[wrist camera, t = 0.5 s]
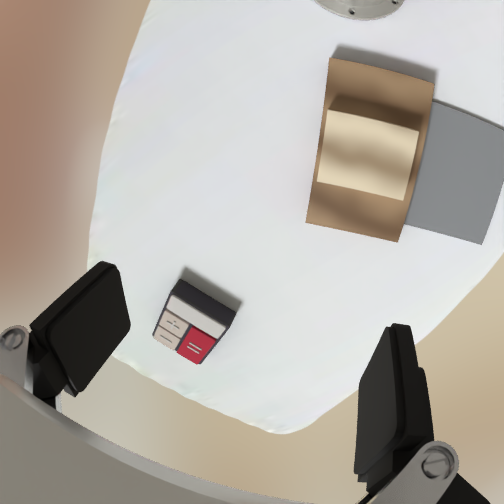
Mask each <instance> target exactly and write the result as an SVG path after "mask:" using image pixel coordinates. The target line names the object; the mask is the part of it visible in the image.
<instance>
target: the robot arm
mask: <svg viewBox="0 0 504 504" xmlns="http://www.w3.org/2000/svg"><path fill="white" fill-rule="evenodd" d="M314 1H315V2H316V3H317V4H319V5H320V6H321V7H323V8H324V9H326V10H328V11H330V12H332V13H333V14H336V15H339V16H341V17H345V18H349V19H353V20H375V19H380V18H384V17H386V16H388V15H390V14H392V13H393V12H395V11H396V10H397V9H398V8H399V7H400V6H401V5H402V4H403V2H404V0H314ZM392 2H395V3H396V4H393V3H392ZM350 12H353V13H354V14H353V15H352V14H350ZM29 326H30V328H31V330H32V331H31V332H30V333H29V332H28V330H27V329H26V328H25V327H24V326H20V325H16V326H12V327H9V328H7V329H6V330H4V331H3V332H2V333H1V335H0V504H312V503H305V502H298V501H292V500H287V499H281V498H276V497H270V496H266V495H260V494H256V493H251V492H247V491H243V490H239V489H235V488H232V487H228V486H224V485H221V484H217V483H214V482H210V481H207V480H204V479H201V478H197V477H195V476H192V475H189V474H186V473H183V472H180V471H178V470H175V469H172V468H170V467H167V466H164V465H162V464H159V463H157V462H155V461H152V460H150V459H147V458H145V457H143V456H141V455H138V454H136V453H133V452H132V451H130V450H127V449H125V448H123V447H121V446H119V445H117V444H115V443H113V442H111V441H109V440H107V439H105V438H103V437H101V436H99V435H98V434H96V433H94V432H92V431H90V430H88V429H87V428H85V427H83V426H81V425H80V424H78V423H76V422H74V421H73V420H71V419H70V418H68V417H66V416H65V415H63V414H62V409H61V391H62V390H63V389H64V391H65V392H67V393H69V394H70V395H72V396H73V397H76V396H77V394H78V393H79V392H82V391H83V390H84V389H85V388H86V387H87V385H88V384H89V383H90V381H91V380H92V379H93V377H94V376H95V375H96V373H97V372H98V371H99V369H100V368H101V367H102V365H103V364H104V363H105V362H106V360H107V359H108V358H109V356H110V355H111V354H112V352H113V351H114V350H115V349H116V347H117V346H118V345H119V343H120V342H121V341H122V340H123V338H124V337H125V336H126V335H127V333H128V332H129V330H130V326H131V323H130V319H129V314H128V310H127V306H126V301H125V296H124V292H123V287H122V282H121V276H120V272H119V270H118V269H117V267H116V265H114V264H111V263H108V262H104V261H100V262H99V263H97V264H96V265H95V266H94V267H93V268H91V269H90V270H89V271H88V272H87V273H86V274H84V275H83V276H82V277H81V278H80V279H79V280H78V281H76V282H75V283H74V284H73V285H72V286H71V287H70V288H69V289H67V290H66V291H65V292H64V293H63V294H62V295H61V296H60V297H59V298H57V299H56V300H55V301H54V302H53V303H52V304H51V305H50V306H49V307H48V308H47V309H46V310H45V311H43V312H42V313H41V314H40V315H39V316H38V317H37V318H36V319H35V320H34V321H33V322H32V323H31V324H30V325H29ZM358 397H359V398H358V421H357V437H356V452H355V462H354V473H355V474H358V482H367V488H366V491H367V492H368V493H367V494H366V495H365V496H363V497H362V498H361V500H359V501H358V502H357V503H356V504H490V502H489V501H488V500H487V499H486V498H485V497H483V496H482V495H481V494H480V493H479V492H478V491H477V490H476V489H475V488H474V487H472V486H471V485H470V484H469V483H468V482H467V481H466V480H464V478H462V477H461V476H460V475H459V474H458V473H457V471H458V467H459V460H458V455H457V453H456V451H455V450H454V449H453V448H452V447H451V446H450V445H448V444H447V443H445V442H441V441H434V433H433V423H432V416H431V408H430V400H429V394H428V388H427V382H426V376H425V372H424V370H423V368H421V367H418V362H417V356H416V351H415V345H414V341H413V336H412V331H411V327H410V326H409V325H403V324H396V323H393V324H392V325H391V327H386V328H385V330H384V332H383V334H382V336H381V338H380V341H379V343H378V345H377V347H376V349H375V351H374V353H373V355H372V357H371V360H370V362H369V364H368V366H367V368H366V370H365V371H364V373H363V375H362V377H361V380H360V383H359V395H358Z"/></svg>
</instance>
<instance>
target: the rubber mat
mask: <svg viewBox="0 0 504 504" xmlns="http://www.w3.org/2000/svg"><path fill="white" fill-rule="evenodd" d="M503 181H504V130H502V129H500V128H498V127H496V126H494V125H491V124H489V123H487V122H485V121H482V120H480V119H478V118H475V117H473V116H471V115H468V114H466V113H463V112H461V111H458V110H455V109H453V108H450V107H447V106H444V105H442V104H439V103H436V102H433V101H432V104H431V110H430V116H429V122H428V127H427V132H426V137H425V142H424V147H423V152H422V156H421V161H420V165H419V169H418V173H417V177H416V181H415V185H414V189H413V193H412V197H411V200H410V204H409V207H408V211H407V214H406V218H405V221H404V224H406V225H410V226H414V227H418V228H422V229H426V230H430V231H433V232H437V233H441V234H445V235H448V236H452V237H456V238H459V239H463V240H466V241H470V242H473V243H477V244H480V245H482V243H483V240H484V238H485V235H486V233H487V230H488V227H489V225H490V222H491V219H492V216H493V213H494V210H495V207H496V204H497V201H498V198H499V195H500V192H501V188H502V185H503Z"/></svg>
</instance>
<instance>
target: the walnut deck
mask: <svg viewBox="0 0 504 504" xmlns="http://www.w3.org/2000/svg"><path fill="white" fill-rule="evenodd" d="M433 90H434V84H433V83H430V82H427V81H424V80H421V79H418V78H415V77H411V76H408V75H405V74H401V73H398V72H394V71H390V70H386V69H382V68H378V67H374V66H370V65H365V64H361V63H356V62H351V61H346V60H340V59H335V58H329V66H328V75H327V84H326V92H325V100H324V107H323V115H322V122H321V129H320V136H319V143H318V150H317V156H316V163H315V169H314V176H313V182H312V188H311V194H310V200H309V206H308V211H307V217H306V223H310V224H315V225H320V226H324V227H329V228H334V229H339V230H344V231H348V232H353V233H358V234H362V235H367V236H371V237H376V238H380V239H385V240H389V241H393V242H398V240H399V237H400V234H401V231H402V227H403V224H404V221H405V218H406V214H407V211H408V207H409V204H410V200H411V197H412V193H413V189H414V185H415V181H416V177H417V173H418V169H419V165H420V161H421V156H422V152H423V147H424V142H425V137H426V132H427V127H428V122H429V116H430V110H431V104H432V97H433ZM328 109H329V110H334V111H340V112H345V113H350V114H354V115H359V116H364V117H368V118H372V119H376V120H380V121H384V122H388V123H392V124H396V125H400V126H403V127H407V128H410V129H414V130H416V131H418V132H419V135H418V140H417V145H416V149H415V154H414V159H413V163H412V167H411V172H410V176H409V180H408V184H407V188H406V192H405V195H404V199H403V201H402V200H398V199H394V198H390V197H386V196H381V195H377V194H373V193H369V192H364V191H360V190H355V189H351V188H346V187H341V186H337V185H332V184H327V183H322V182H317V177H318V171H319V165H320V158H321V152H322V145H323V139H324V132H325V125H326V118H327V111H328Z"/></svg>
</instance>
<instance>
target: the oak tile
mask: <svg viewBox="0 0 504 504" xmlns="http://www.w3.org/2000/svg"><path fill="white" fill-rule="evenodd" d="M418 135H419V132H418V131H416V130H414V129H410V128H407V127H403V126H400V125H396V124H392V123H388V122H384V121H380V120H376V119H372V118H368V117H364V116H359V115H354V114H350V113H345V112H340V111H334V110H329V109H328V111H327V118H326V125H325V132H324V139H323V145H322V152H321V158H320V165H319V171H318V177H317V182H322V183H327V184H332V185H337V186H341V187H346V188H351V189H355V190H360V191H364V192H369V193H373V194H377V195H381V196H386V197H390V198H394V199H398V200H402V201H403V199H404V195H405V192H406V188H407V184H408V180H409V176H410V172H411V167H412V163H413V159H414V154H415V149H416V145H417V140H418Z"/></svg>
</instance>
